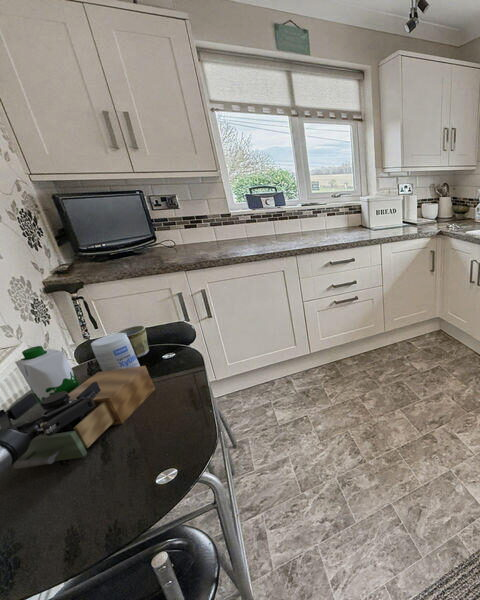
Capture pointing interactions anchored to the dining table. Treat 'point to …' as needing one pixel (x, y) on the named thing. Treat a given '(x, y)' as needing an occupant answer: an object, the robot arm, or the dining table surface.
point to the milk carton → (47, 372)
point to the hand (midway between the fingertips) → (66, 391)
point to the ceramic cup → (137, 339)
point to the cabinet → (120, 390)
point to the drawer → (68, 439)
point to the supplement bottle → (57, 402)
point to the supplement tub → (114, 352)
